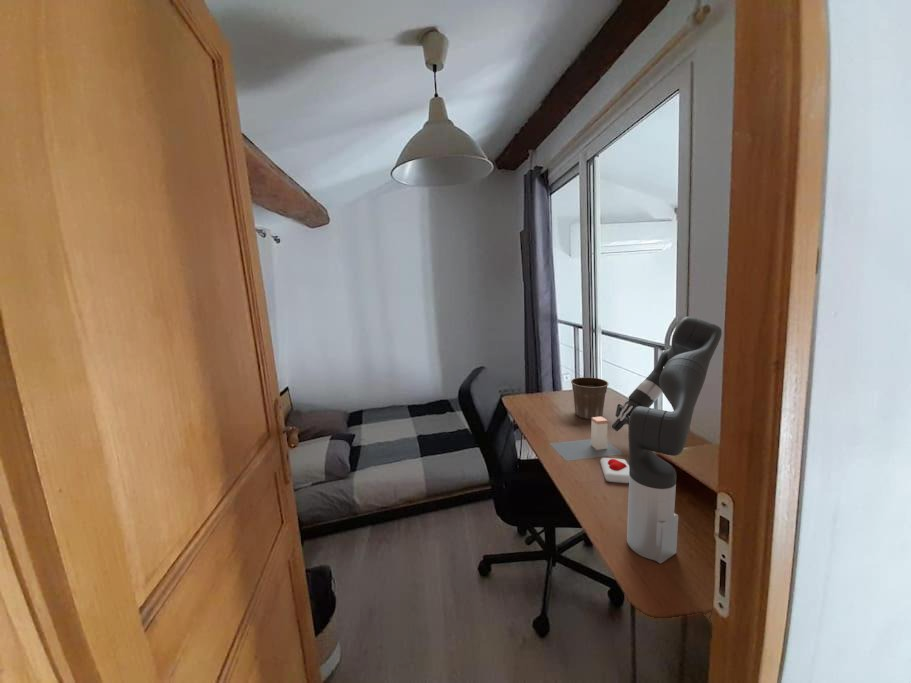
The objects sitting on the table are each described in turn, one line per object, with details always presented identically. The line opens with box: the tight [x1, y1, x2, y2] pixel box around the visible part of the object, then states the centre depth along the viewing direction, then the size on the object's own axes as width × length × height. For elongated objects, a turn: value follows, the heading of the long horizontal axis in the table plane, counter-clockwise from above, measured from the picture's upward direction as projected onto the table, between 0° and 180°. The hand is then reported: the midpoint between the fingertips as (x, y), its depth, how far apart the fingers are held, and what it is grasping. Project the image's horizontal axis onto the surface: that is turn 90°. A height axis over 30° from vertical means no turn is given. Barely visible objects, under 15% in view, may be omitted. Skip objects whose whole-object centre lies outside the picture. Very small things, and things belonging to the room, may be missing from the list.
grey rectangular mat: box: [549, 438, 625, 462], centre depth 129 cm, size 22×14×1 cm, turn 99°
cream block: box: [590, 416, 609, 450], centre depth 128 cm, size 4×4×11 cm
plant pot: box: [570, 376, 609, 420], centre depth 161 cm, size 16×16×16 cm
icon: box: [599, 457, 629, 484], centre depth 112 cm, size 12×4×10 cm
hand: (614, 429), depth 129 cm, fingers closed
